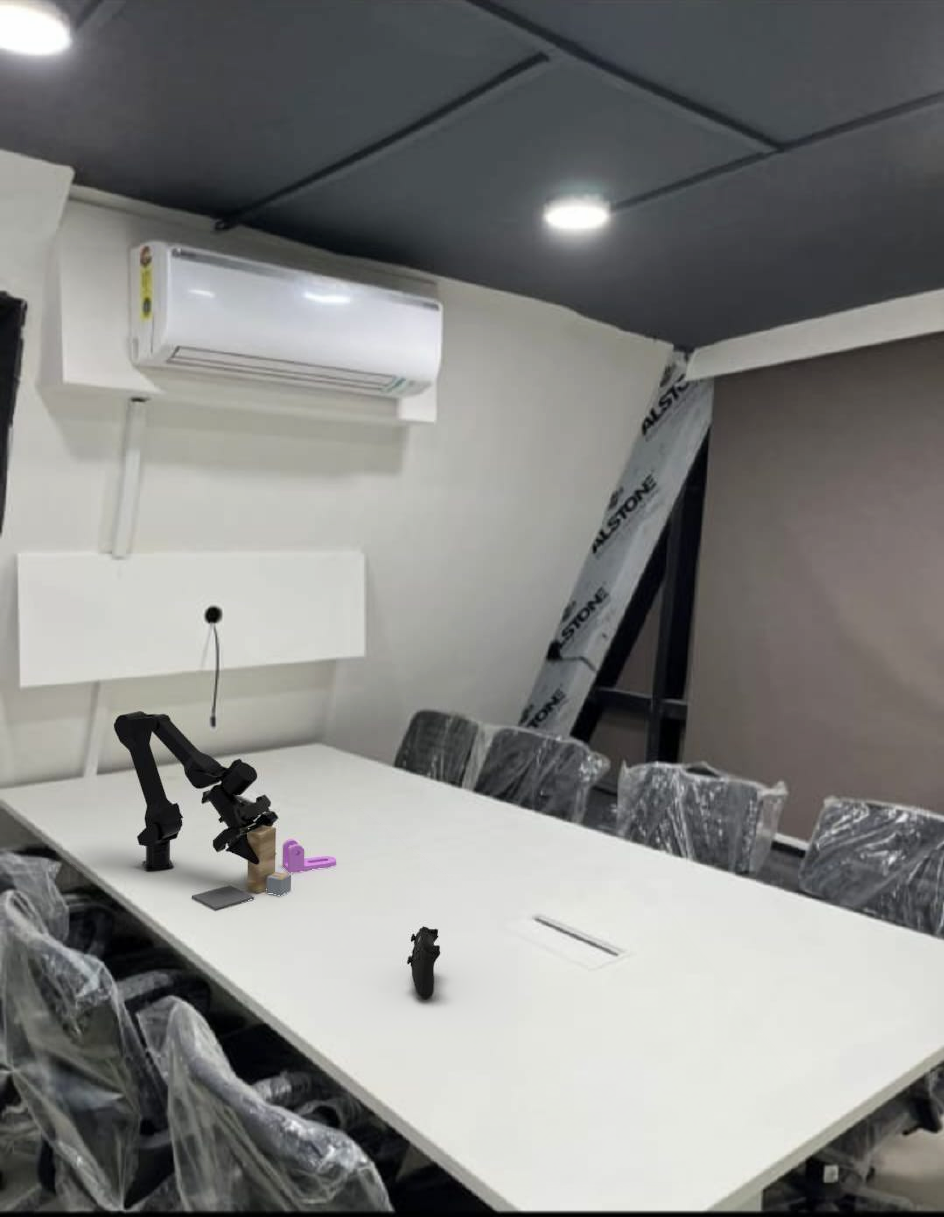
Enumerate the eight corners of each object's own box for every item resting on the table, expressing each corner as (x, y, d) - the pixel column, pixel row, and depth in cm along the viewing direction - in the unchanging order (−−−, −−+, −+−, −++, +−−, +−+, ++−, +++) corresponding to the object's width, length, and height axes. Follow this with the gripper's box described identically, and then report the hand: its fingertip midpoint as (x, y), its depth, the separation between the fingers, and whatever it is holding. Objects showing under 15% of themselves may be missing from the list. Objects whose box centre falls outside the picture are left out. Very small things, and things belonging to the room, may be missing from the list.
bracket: (289, 874, 244) (290, 846, 244) (282, 867, 249) (282, 840, 249) (339, 866, 251) (339, 839, 250) (331, 860, 256) (331, 833, 255)
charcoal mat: (191, 898, 227) (191, 895, 227) (229, 887, 234) (229, 884, 234) (215, 910, 220) (215, 908, 220) (254, 899, 227) (254, 896, 227)
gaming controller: (405, 967, 194) (406, 918, 193) (436, 967, 195) (437, 918, 194) (406, 1002, 180) (408, 949, 179) (440, 1002, 181) (441, 948, 180)
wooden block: (247, 890, 232) (248, 832, 231) (262, 882, 237) (263, 825, 236) (259, 893, 231) (260, 834, 229) (274, 885, 236) (275, 827, 235)
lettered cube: (266, 893, 231) (266, 876, 231) (276, 888, 235) (276, 871, 234) (280, 896, 229) (281, 879, 229) (290, 891, 233) (291, 874, 233)
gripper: (223, 795, 225) (262, 851, 222) (272, 777, 242) (309, 829, 238) (195, 824, 229) (233, 879, 225) (245, 804, 246) (282, 855, 242)
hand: (266, 859), depth 233 cm, fingers closed on wooden block, 6 cm apart
